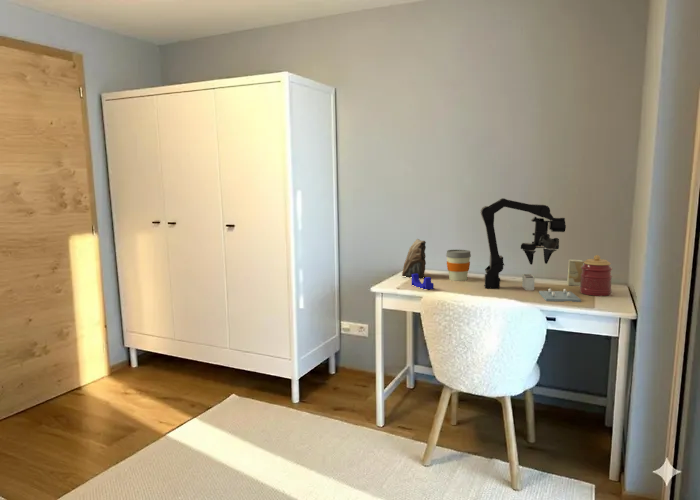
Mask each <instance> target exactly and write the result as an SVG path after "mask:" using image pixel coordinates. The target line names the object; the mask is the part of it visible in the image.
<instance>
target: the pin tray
mask: <svg viewBox="0 0 700 500" xmlns="http://www.w3.org/2000/svg"><path fill="white" fill-rule="evenodd" d="M538 294H539V295H540V296H541V298H543V299H544V300H545V301H546V302H564V301H572V302H573V303H575V302H576V303H581V302H582V299H581V298H580V297H578V295H576V294H575V293H574V292H573V291H570V290H569V291H567V288H563V291H562V290H552V288H548V290H538Z"/></svg>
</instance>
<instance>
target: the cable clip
mask: <svg viewBox="0 0 700 500" xmlns="http://www.w3.org/2000/svg"><path fill="white" fill-rule="evenodd" d="M424 277H425V278H423V280H422V282H421V279H419V276H418V274H412V278H411V286H412V285H414V286H416V287H415V288H417V287H420V288H419V289H421V288H423V289H422V290H424V289H431V290H434V288H435V287H434V282H432V277H430V276H428V277H427V276H424ZM414 286H413V287H414Z"/></svg>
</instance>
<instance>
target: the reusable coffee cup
mask: <svg viewBox="0 0 700 500" xmlns="http://www.w3.org/2000/svg"><path fill="white" fill-rule="evenodd" d="M445 256H446V267H447V269H446V270H447V272H448V278H449V280H450V281H455V282H463V281H467V280H468V273H469V271H470V267H471V266H470V265H471V261H470V260H471V256H472V255H471V251H470V250H467V249H448V250H446V254H445Z"/></svg>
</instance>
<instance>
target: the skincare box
mask: <svg viewBox="0 0 700 500" xmlns="http://www.w3.org/2000/svg"><path fill="white" fill-rule="evenodd" d="M583 262H584V260H582V259H568V269H567V280H566V285H568V286H579V287H580V282H581V275H580V274H581V273H582V268H581V266H583V265H584V263H583Z"/></svg>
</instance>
